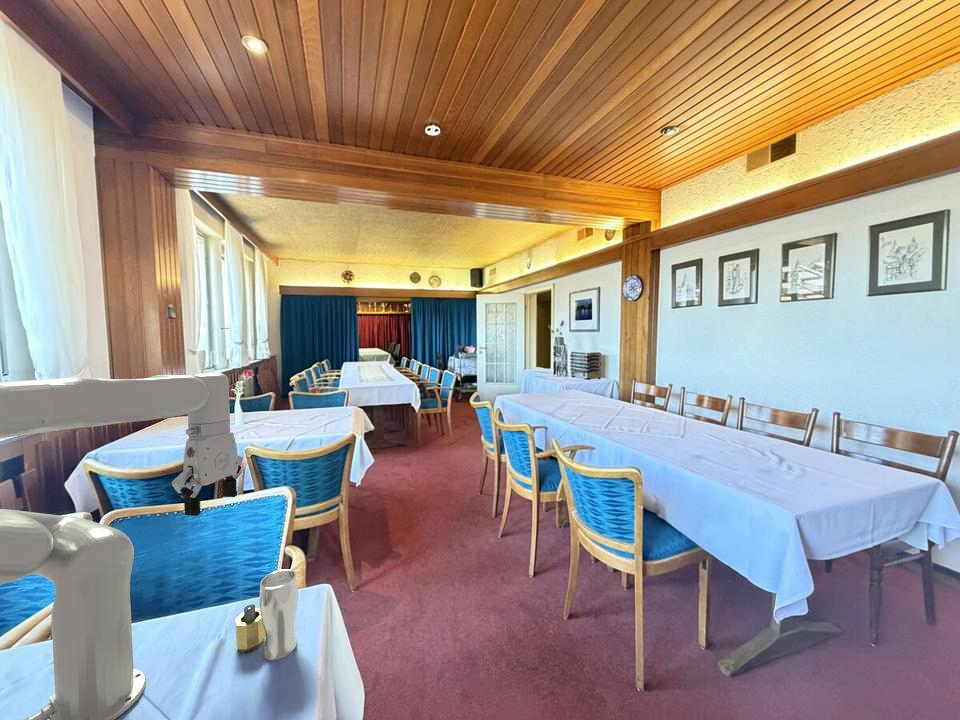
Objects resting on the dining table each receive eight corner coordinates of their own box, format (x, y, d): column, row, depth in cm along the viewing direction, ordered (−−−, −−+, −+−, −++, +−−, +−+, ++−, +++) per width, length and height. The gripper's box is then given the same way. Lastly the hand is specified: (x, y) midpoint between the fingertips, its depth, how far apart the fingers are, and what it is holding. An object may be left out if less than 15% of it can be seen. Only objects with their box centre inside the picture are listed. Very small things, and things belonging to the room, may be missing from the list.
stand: (245, 656, 76) (243, 618, 76) (233, 647, 78) (232, 610, 78) (267, 641, 80) (266, 604, 80) (255, 633, 82) (254, 597, 82)
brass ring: (231, 648, 77) (230, 624, 77) (248, 629, 82) (247, 607, 82) (253, 650, 76) (253, 626, 76) (269, 631, 81) (269, 609, 81)
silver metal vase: (305, 636, 81) (303, 569, 80) (286, 664, 74) (283, 590, 74) (275, 634, 82) (273, 567, 81) (253, 661, 75) (250, 588, 74)
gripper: (189, 438, 74) (191, 524, 74) (253, 421, 91) (255, 491, 91) (156, 437, 75) (159, 522, 75) (226, 421, 92) (228, 489, 92)
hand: (212, 505), depth 83 cm, fingers open, 9 cm apart
